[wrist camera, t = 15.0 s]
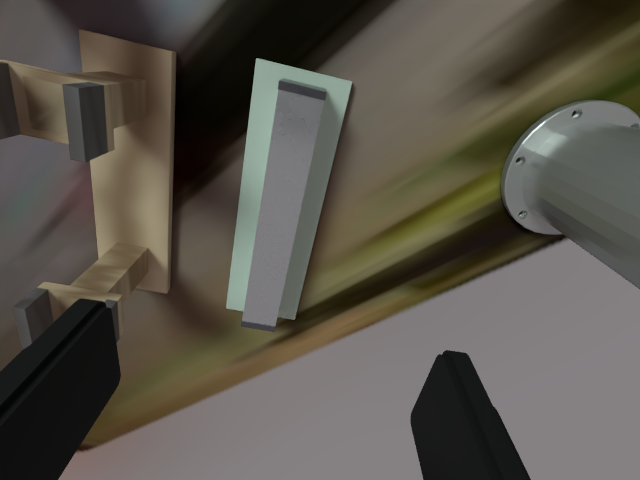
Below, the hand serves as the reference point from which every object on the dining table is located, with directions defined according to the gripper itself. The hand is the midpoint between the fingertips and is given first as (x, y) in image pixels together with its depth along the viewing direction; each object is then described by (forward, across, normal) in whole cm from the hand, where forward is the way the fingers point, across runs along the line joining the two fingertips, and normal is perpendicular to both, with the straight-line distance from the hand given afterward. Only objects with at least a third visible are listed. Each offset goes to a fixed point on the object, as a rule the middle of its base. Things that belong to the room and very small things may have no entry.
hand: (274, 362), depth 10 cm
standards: (+24, +16, +5) cm, 30 cm away
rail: (+24, +2, +6) cm, 25 cm away
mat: (+25, +2, +6) cm, 26 cm away
